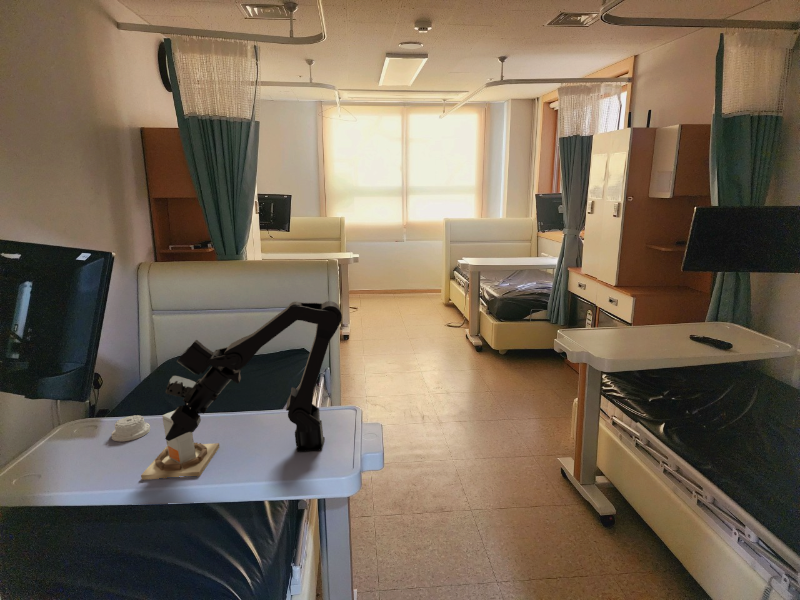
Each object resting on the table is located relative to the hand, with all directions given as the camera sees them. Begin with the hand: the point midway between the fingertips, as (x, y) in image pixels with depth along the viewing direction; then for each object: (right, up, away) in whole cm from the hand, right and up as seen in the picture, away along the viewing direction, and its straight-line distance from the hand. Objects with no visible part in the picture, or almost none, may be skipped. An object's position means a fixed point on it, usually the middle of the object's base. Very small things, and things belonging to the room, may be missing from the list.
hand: (171, 431), depth 124 cm
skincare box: (+2, -7, +2) cm, 8 cm away
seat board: (+2, -8, +2) cm, 9 cm away
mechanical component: (-21, -6, +20) cm, 30 cm away
